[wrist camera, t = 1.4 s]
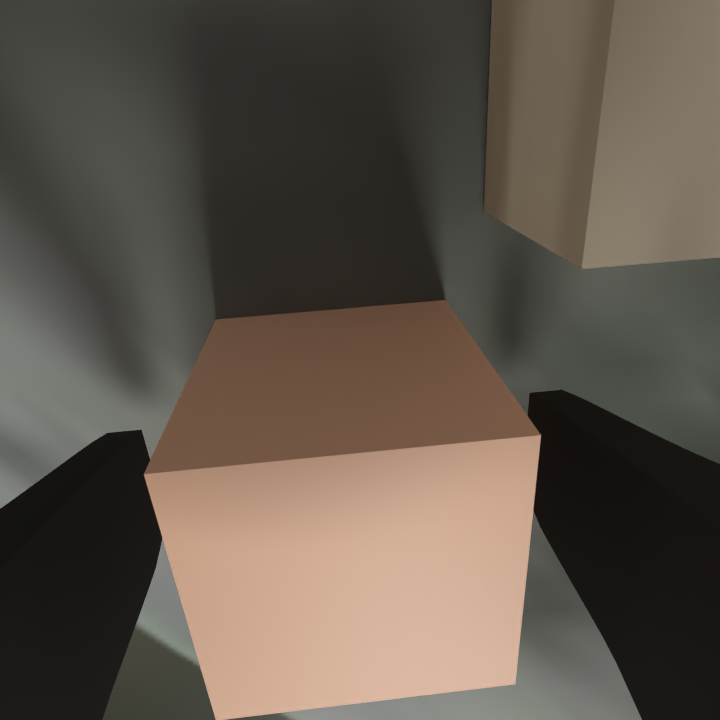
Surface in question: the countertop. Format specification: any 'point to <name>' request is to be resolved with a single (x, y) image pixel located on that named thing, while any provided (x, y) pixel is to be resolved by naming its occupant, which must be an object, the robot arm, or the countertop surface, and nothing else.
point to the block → (347, 509)
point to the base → (606, 128)
